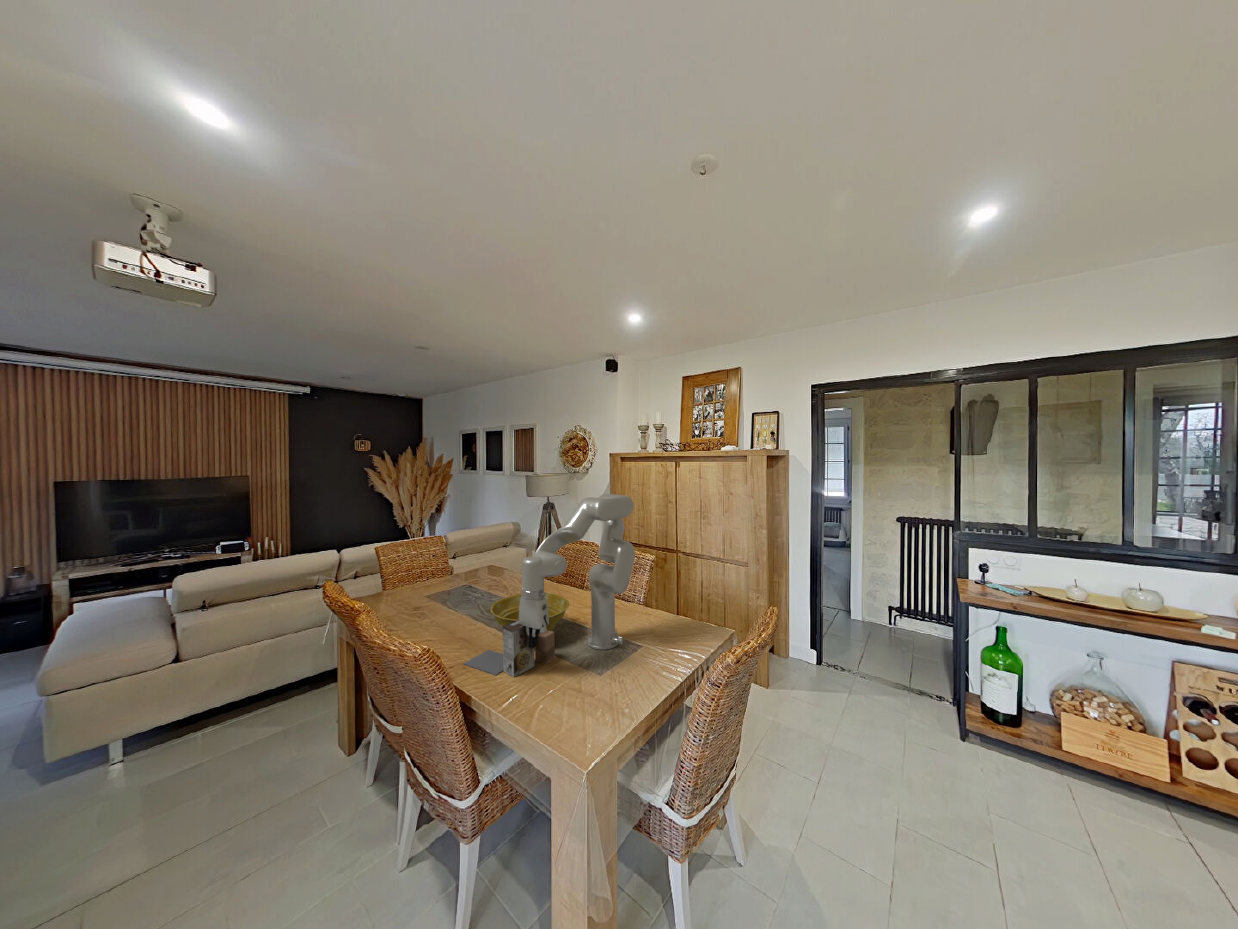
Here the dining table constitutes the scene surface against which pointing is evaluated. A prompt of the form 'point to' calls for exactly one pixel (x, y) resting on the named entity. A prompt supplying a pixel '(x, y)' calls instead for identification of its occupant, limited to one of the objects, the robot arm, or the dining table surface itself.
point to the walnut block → (545, 648)
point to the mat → (487, 662)
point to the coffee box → (516, 650)
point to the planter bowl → (509, 606)
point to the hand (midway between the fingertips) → (533, 646)
